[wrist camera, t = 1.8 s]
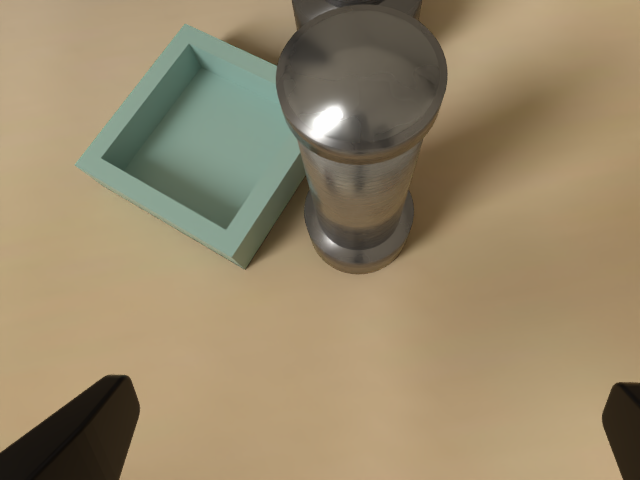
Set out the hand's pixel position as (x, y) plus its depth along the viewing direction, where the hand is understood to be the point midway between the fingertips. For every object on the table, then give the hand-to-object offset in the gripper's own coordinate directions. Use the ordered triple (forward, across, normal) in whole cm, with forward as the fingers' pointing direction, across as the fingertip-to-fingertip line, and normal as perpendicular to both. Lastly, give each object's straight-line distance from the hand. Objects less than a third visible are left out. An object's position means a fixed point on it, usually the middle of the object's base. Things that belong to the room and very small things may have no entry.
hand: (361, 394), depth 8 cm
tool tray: (+18, +8, +1) cm, 20 cm away
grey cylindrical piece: (+15, 0, +4) cm, 15 cm away
